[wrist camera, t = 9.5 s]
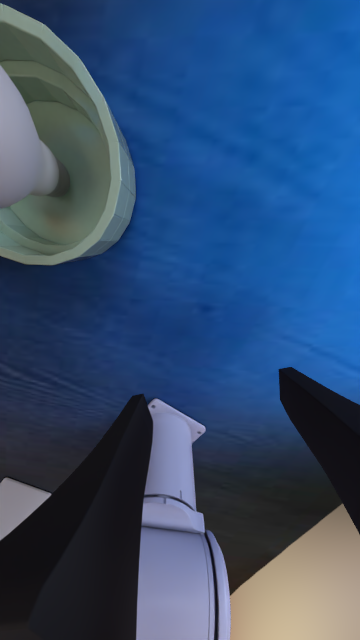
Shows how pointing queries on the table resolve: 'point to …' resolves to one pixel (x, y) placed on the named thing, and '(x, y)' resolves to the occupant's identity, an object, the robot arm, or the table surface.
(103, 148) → the bowl
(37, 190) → the lightbulb
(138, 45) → the table surface
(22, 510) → the medicine bottle
